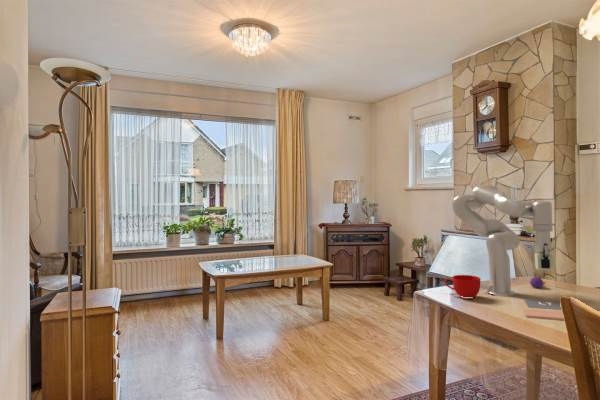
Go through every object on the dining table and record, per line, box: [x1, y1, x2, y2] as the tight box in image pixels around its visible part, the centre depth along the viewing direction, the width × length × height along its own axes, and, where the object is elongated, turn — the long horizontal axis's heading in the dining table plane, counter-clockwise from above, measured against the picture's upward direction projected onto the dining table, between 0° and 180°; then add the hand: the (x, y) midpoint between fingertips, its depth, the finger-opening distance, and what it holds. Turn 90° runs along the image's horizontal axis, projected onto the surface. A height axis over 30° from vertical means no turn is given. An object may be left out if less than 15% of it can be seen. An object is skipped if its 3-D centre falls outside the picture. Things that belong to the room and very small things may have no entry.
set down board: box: [522, 308, 565, 321], centre depth 152 cm, size 14×10×1 cm
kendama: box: [529, 275, 544, 289], centre depth 202 cm, size 6×6×20 cm
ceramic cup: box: [444, 274, 481, 298], centre depth 184 cm, size 13×17×10 cm
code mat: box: [523, 299, 562, 311], centre depth 165 cm, size 16×14×1 cm
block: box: [534, 252, 554, 272], centre depth 167 cm, size 6×6×7 cm
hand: (544, 266), depth 167 cm, fingers closed on block, 6 cm apart
